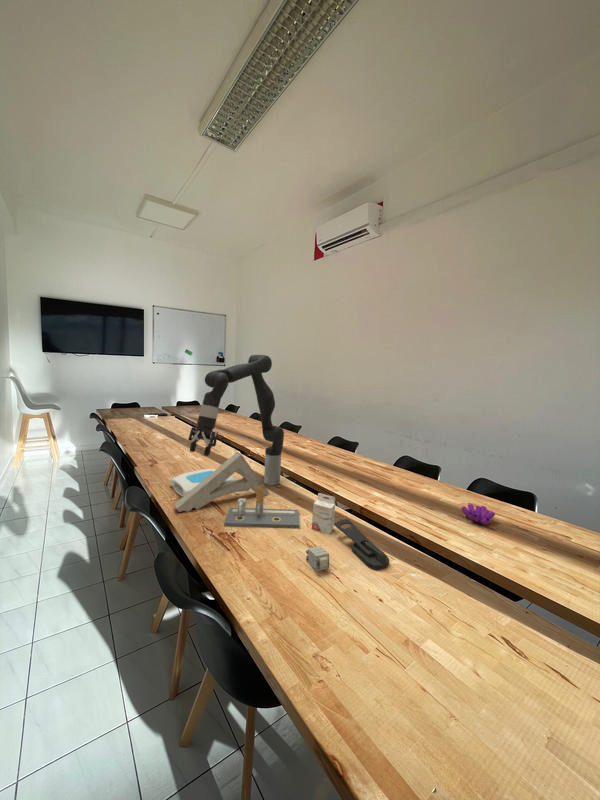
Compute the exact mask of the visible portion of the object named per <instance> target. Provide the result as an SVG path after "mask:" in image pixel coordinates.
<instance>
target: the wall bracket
mask: <svg viewBox="0 0 600 800" xmlns="http://www.w3.org/2000/svg"><path fill="white" fill-rule="evenodd" d="M215 469H216V470H215V471H213V472H212V473H211V474H210V475H209V476H207V477H206V478H205V479H204V480H203V481H201V482H200V483H199V484H198V485H197V486H195V487H194V488H193V489H192V490H191V491H189V492H188V493H187V494H186V495H185V496H183V497H182V496H181V498H180V499H178V500H177V501H176V502H174V504H173V506H174V508H175V509H176V511H178V513H181V512H187V513H189V512H190V511H192V510H193V509H195V510H196V511H198V510H200V509H201V508H202V507H204V506H206V505H207V504H209V503H210V502H211V501H213V500H216V499H219V498H221V497H223V496H226V495H230V494H233V493H238V492H241V493H242V492H249V491H250V490H252V491H253V492H255V493H256V492H257V486H263V487H264V495H263V497H265V496H266V495H268V494H269V491H268V490H267V488H266V486H265V485H264V484H263V483H262V481H261V479H260V478H259V477H258V475H257V474H256V473H255V471H254V470H253V468H252V467H251V466H250V465H249V463H248V462H247V460H246V458H245V457H244V456H243V455H242V453H240V452H238V451H236V452H235V453H234V454H233V455H232V456H230V457H229V458H228V459H226V461H224V462H223V463H221V464H220V466H218V467H217V468H215ZM237 471H238V473H239V474H240V475H241V476H242V477H243V478H240V479H237V480H236V479H235V481H233V482H230V483H227V484H224V485H221V484H222V483H223V482H224V481H225V480H226V479H228V478H229V477H230V476H231V475H232V476H233V475H234V473H236V472H237Z"/></svg>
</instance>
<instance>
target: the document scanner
mask: <svg viewBox="0 0 600 800" xmlns="http://www.w3.org/2000/svg"><path fill="white" fill-rule="evenodd" d="M216 469H217V468H203V469H198V470H194V471H189V472H184V473H181V474H179V475H176V476H174V477H172V478H170V486H171V487H172V488H173V490H174V492H175V493H177V494H178V495H179V496H180V497H181V498H182V497H183V496H185V495H186V494H187V493H188V492H189V491H191V490H192V489H193V488H194V487H195V486H197V485H198V484H199V483H200V482H201V481H203V480H204V479H205V478H206V477H207V476H209V475H210V474H211V473H212V472H213V471H215V470H216ZM233 481H236V479H235V476H234V477H233V474H232V475H231V476H230V477H229V478H228V479H226V480H225V481H224V482H223V483H222V484H221V485H224V484H227V483H230V482H233Z"/></svg>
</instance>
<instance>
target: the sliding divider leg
mask: <svg viewBox="0 0 600 800" xmlns="http://www.w3.org/2000/svg"><path fill="white" fill-rule="evenodd" d="M264 487H265V486H264ZM264 487H263V486H257V492H255V493H256V497H255V498H256V499H255V508H256V512H257V518H259V517H260V512H263V509H264Z"/></svg>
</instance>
